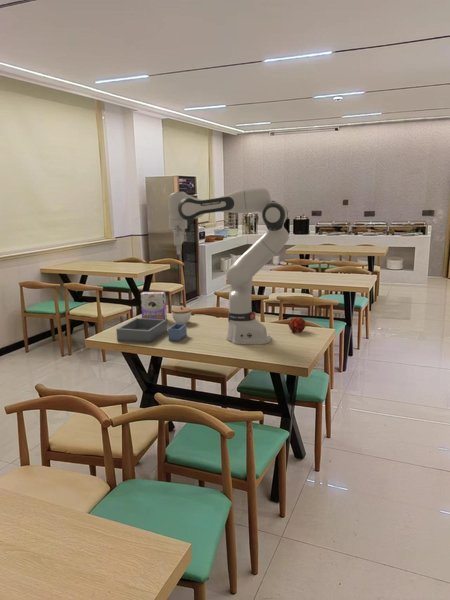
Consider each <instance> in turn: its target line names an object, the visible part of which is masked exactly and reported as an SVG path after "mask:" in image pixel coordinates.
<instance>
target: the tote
mask: <svg viewBox="0 0 450 600" xmlns="http://www.w3.org/2000/svg"><path fill="white" fill-rule="evenodd" d="M187 332H188V331H187V323H186V324H177V323H174V324H173V325H171V326H170V327H168V328H167V333H168V334H167V339H168V341H171V342H172V341H174V342H181V341H182V340H183V339H185V338H186V337H187V336H188V335H187V334H188V333H187Z"/></svg>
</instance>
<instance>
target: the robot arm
mask: <svg viewBox="0 0 450 600" xmlns="http://www.w3.org/2000/svg"><path fill="white" fill-rule="evenodd" d="M219 212H222V213H232V214H247V213H254V212H258V213H261V217H262V220H263V222H264V225H265V226H266V228H267V229H266V231H265V232H264V233H263V234H262V235H261V236H260V237H259V238H258V239H257V240H256V241H255V242H254V243H253V244H252V245H250V246H249V248H248V249H247V250H246V251H245V252H243V254H241V256H239V257H238V259H236V260H235V261H234V262H233V263H232V264H231V265H230V266H229V267H228V268H227V270H226V274H225V275H226V276H225V277H226V281H227V282H228V283H229V285H230V287H229V294H228V313H227V320H228V321H227V322H228V329H227V334H226V340H227V341H229V342H231V343H232V344H234V345H266V344H269V342H271V341H272V335H271V334H268V332H267V329H266V326H265V325H264V324H263V323H262V322H261V321H259V320H258V319H257V318H256V312H255V311H252V292H253V291H252V290H253V277H254V276H255V275H257V273H258V272H259V271H260V270H261V269H262V268H264V266H265V265H267V263H268V262H270V261H271V259H273V258H274V257H275V256H276V255H277V254H278V253H279V252H280V251H281V250H282V248H283V247H285V245H286V244H287V242H288V241H289V238H290V236H289V232H288V230H287V229H286V228H285V226H284V224H285V223H286V221H287V220H288V217H289V216H288V215H289V213H288V209H287V208H286V206H284V205H283V204H282V203H279V202H277V201H275V200H272V197H271V195H270V192H269V191H268V189H266V188H261V187H253V188H243V189H238V190H236V191H232V192H230V193H227V194H225V195H222V196H219V197H215V198H208V199H200V198H197V197H194V196H191V195H189V194H188V193H186V192H185V191H183V190H182V191H175V192H172V193H170V195H169V197H168V214H169V215H168V216H169V217H168V228H169V230H171V232H172V233H173V246H175V249H176V255H178V256H180V255H181V252H182V251H183V249H182V245H183V244H184V236H185V232H186V230H187V229H188V221H192V220H194V219H199V218H201V217H203V215H206V214H211V213H219Z"/></svg>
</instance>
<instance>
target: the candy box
mask: <svg viewBox="0 0 450 600" xmlns="http://www.w3.org/2000/svg"><path fill="white" fill-rule="evenodd" d="M166 295H167V294H166V291H142V292H141V293H140V294H139V296H140V308H141V318H145V319H161V320H168V319H167V318H168V316H167V298H166Z"/></svg>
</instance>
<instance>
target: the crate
mask: <svg viewBox="0 0 450 600" xmlns="http://www.w3.org/2000/svg"><path fill="white" fill-rule="evenodd" d="M166 332H168V319H166V320H161V319H145V318H142V317H135V318H134V319H132V320H130V321H128V322H126V323H125V324H123V325H121V326H119V327H118V328H116V341H121V342H135V343H144V344H145V343H147V344H150V343H152V342H153V341H155V340H156V339H157V338H159V337H161V336H162V335H163V334H164V333H166ZM161 334H162V335H161ZM154 339H155V340H154Z"/></svg>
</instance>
